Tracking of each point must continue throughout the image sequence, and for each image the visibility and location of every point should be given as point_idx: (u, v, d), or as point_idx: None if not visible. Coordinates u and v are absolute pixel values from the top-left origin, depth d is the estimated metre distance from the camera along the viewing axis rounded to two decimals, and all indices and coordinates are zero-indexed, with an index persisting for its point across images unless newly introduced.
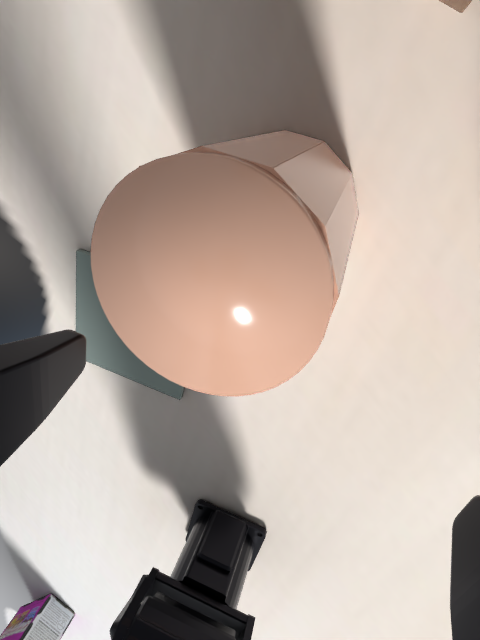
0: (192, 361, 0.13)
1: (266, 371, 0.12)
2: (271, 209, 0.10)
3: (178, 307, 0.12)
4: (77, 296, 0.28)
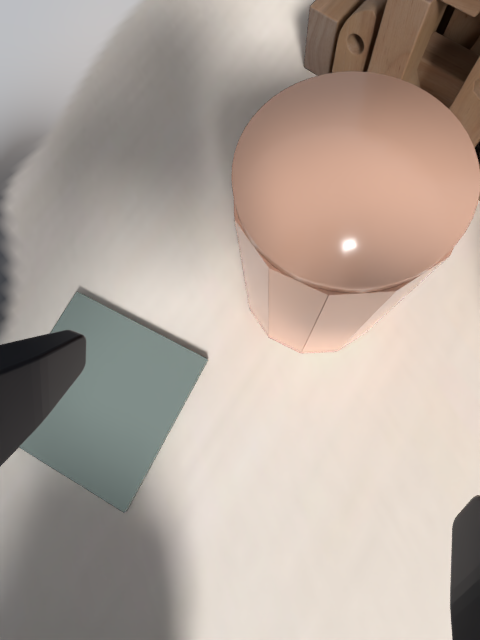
0: (322, 241, 0.12)
1: (408, 254, 0.11)
2: (431, 113, 0.13)
3: (323, 183, 0.12)
4: None
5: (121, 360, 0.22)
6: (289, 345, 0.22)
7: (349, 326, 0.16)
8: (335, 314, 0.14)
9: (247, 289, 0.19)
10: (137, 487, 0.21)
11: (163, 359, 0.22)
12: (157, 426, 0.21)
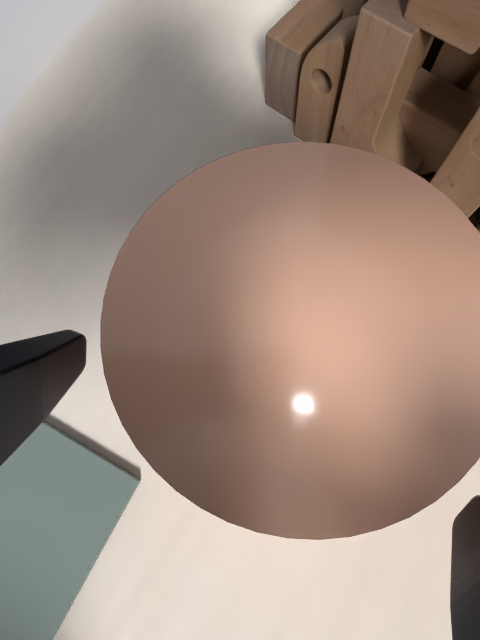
0: (243, 445, 0.07)
1: (393, 477, 0.06)
2: (430, 215, 0.08)
3: (250, 334, 0.07)
4: None
5: (26, 480, 0.17)
6: None
7: None
8: None
9: None
10: None
11: (80, 480, 0.17)
12: (67, 576, 0.16)
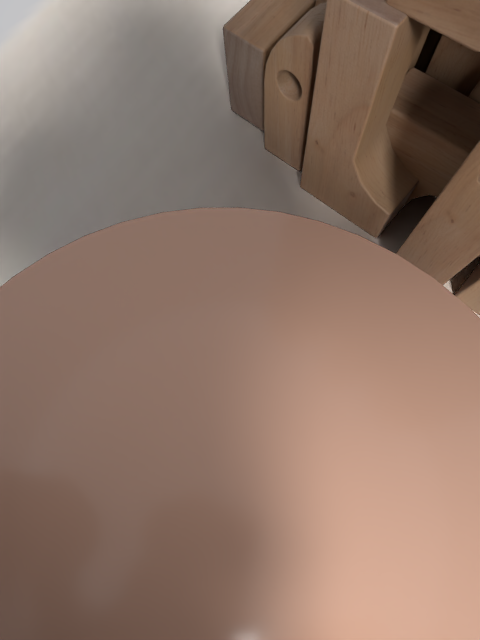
0: None
1: None
2: (446, 349, 0.04)
3: (106, 593, 0.04)
4: None
5: None
6: None
7: None
8: None
9: None
10: None
11: None
12: None
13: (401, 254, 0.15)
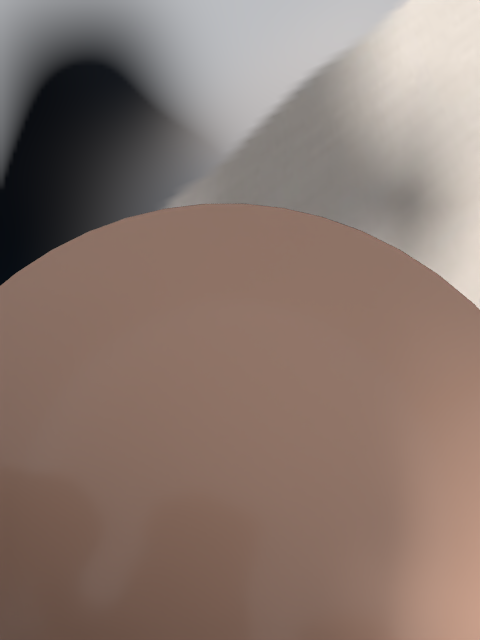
0: None
1: None
2: (451, 345, 0.04)
3: (111, 588, 0.04)
4: None
5: None
6: None
7: None
8: None
9: None
10: None
11: None
12: None
13: None
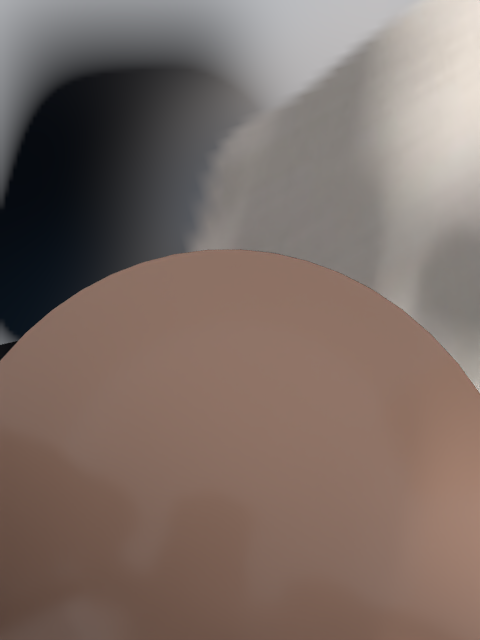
0: None
1: None
2: (411, 368, 0.05)
3: (139, 567, 0.05)
4: None
5: None
6: None
7: None
8: None
9: None
10: None
11: None
12: None
13: None
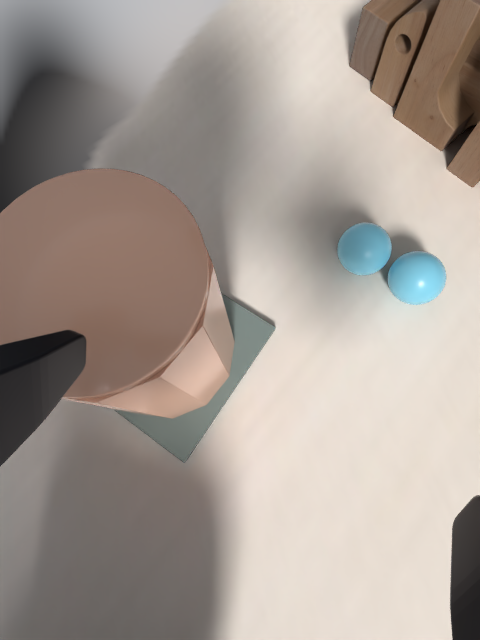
0: None
1: (153, 341, 0.11)
2: (148, 194, 0.13)
3: (58, 294, 0.12)
4: None
5: None
6: None
7: (175, 397, 0.16)
8: (138, 401, 0.14)
9: None
10: (198, 440, 0.21)
11: (232, 323, 0.23)
12: (222, 385, 0.22)
13: (459, 154, 0.24)
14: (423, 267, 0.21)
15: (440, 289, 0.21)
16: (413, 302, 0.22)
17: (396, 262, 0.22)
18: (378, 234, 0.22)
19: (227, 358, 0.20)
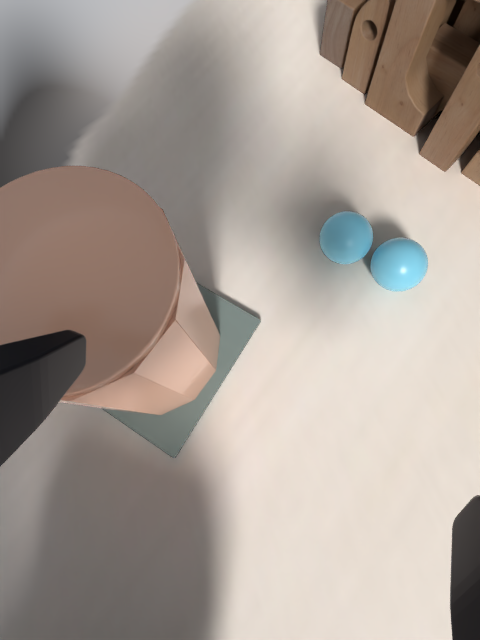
0: None
1: (124, 337, 0.11)
2: (116, 190, 0.13)
3: (29, 294, 0.12)
4: None
5: None
6: (145, 413, 0.21)
7: (157, 393, 0.16)
8: (118, 398, 0.14)
9: None
10: (187, 435, 0.22)
11: (217, 317, 0.23)
12: (209, 379, 0.22)
13: (430, 139, 0.24)
14: (404, 253, 0.21)
15: (422, 275, 0.21)
16: (396, 289, 0.22)
17: (378, 249, 0.22)
18: (358, 222, 0.22)
19: (211, 352, 0.20)
